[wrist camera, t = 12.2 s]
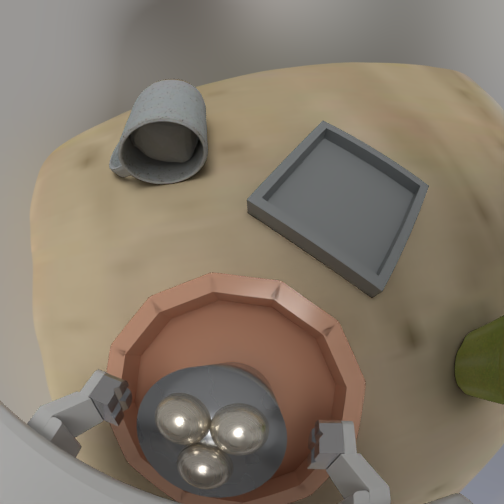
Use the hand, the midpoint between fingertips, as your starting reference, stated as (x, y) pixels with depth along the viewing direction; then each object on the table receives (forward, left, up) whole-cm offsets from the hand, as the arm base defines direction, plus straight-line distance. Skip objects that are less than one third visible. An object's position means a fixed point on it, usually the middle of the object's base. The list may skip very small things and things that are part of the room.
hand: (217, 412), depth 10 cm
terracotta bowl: (0, +1, -8) cm, 8 cm away
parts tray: (+2, -17, -8) cm, 19 cm away
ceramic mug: (+19, -12, -8) cm, 24 cm away
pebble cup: (0, 0, -7) cm, 7 cm away
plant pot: (-17, -12, -8) cm, 23 cm away
